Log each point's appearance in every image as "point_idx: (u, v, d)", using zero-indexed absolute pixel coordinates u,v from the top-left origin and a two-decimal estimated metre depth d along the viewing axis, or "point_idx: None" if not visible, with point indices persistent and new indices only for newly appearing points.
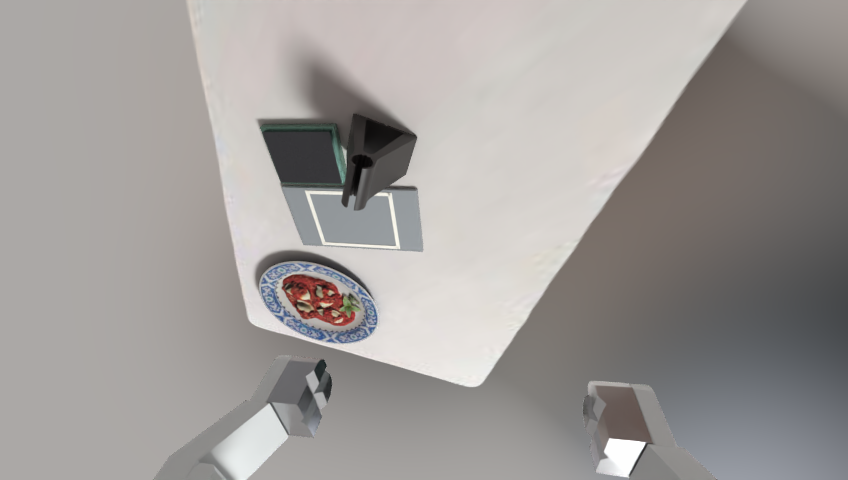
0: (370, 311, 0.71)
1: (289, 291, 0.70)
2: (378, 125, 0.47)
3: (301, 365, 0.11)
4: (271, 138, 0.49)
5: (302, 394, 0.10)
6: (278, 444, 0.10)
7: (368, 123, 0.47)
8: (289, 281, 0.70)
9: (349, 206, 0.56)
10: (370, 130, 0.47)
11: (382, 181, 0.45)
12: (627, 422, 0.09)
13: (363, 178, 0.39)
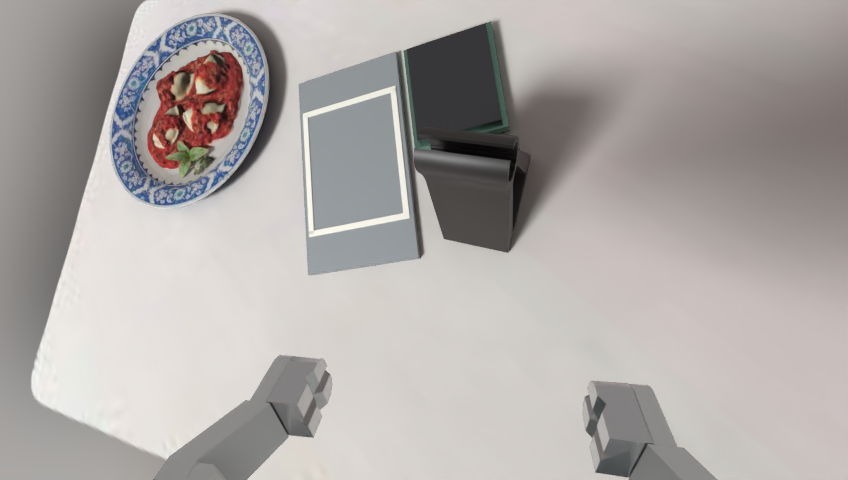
0: (181, 193, 0.41)
1: (209, 60, 0.43)
2: (518, 192, 0.31)
3: (301, 365, 0.11)
4: (477, 36, 0.33)
5: (302, 394, 0.10)
6: (278, 444, 0.10)
7: (519, 178, 0.31)
8: (228, 61, 0.43)
9: (376, 153, 0.36)
10: None
11: (451, 201, 0.26)
12: (627, 422, 0.09)
13: (487, 164, 0.20)
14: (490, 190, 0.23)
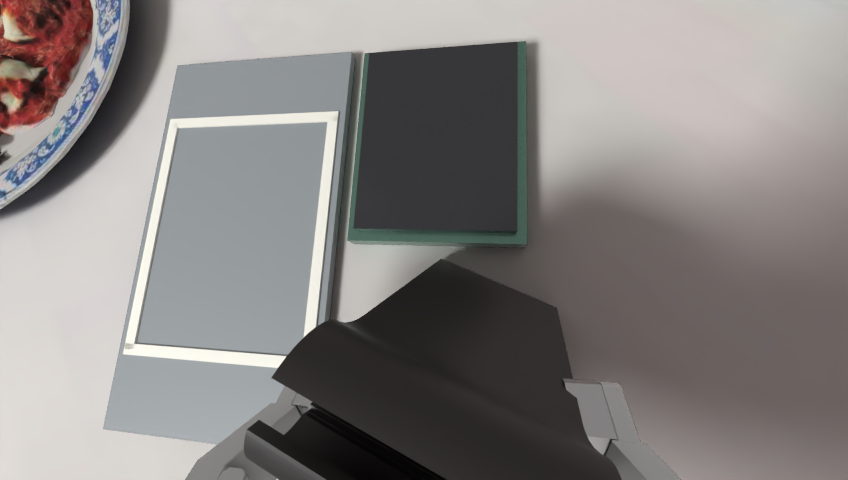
0: None
1: None
2: None
3: None
4: (499, 61, 0.18)
5: None
6: None
7: None
8: None
9: (279, 227, 0.19)
10: None
11: None
12: (594, 419, 0.09)
13: None
14: None
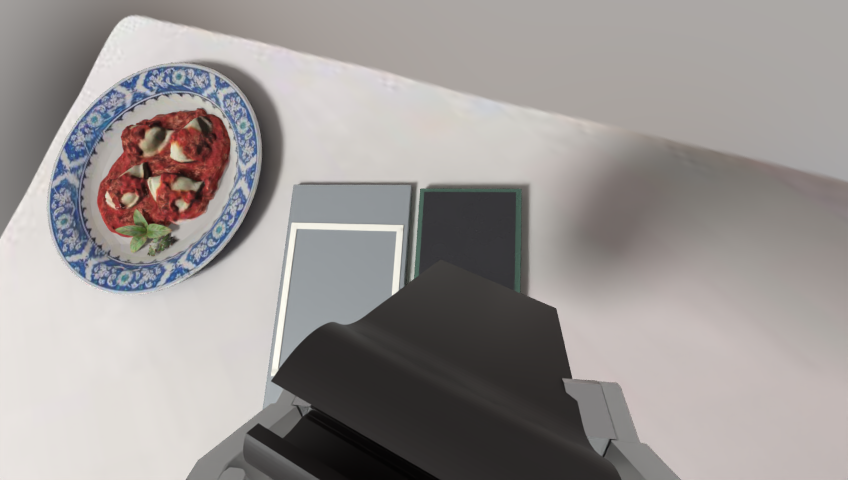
0: (127, 277, 0.35)
1: (193, 125, 0.36)
2: None
3: None
4: (504, 204, 0.30)
5: None
6: None
7: None
8: (215, 130, 0.37)
9: (367, 298, 0.31)
10: None
11: None
12: (593, 419, 0.09)
13: None
14: None
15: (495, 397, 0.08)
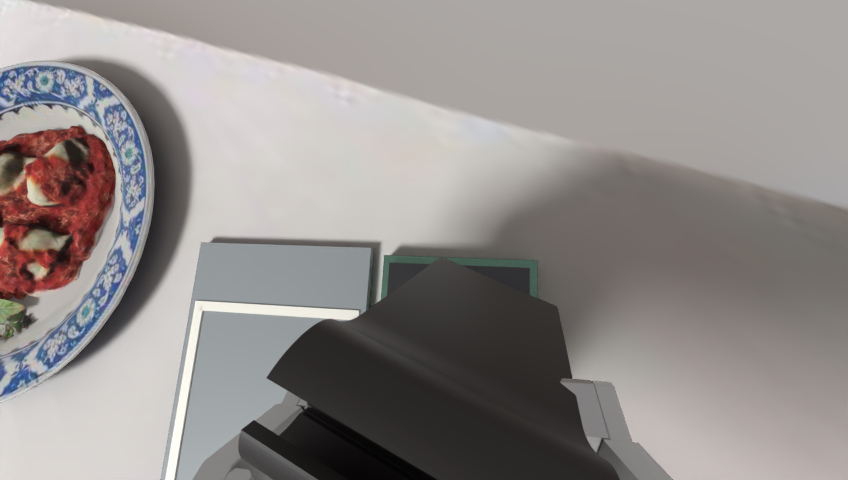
0: None
1: (57, 152, 0.25)
2: None
3: None
4: (512, 286, 0.19)
5: None
6: None
7: None
8: (93, 158, 0.26)
9: None
10: None
11: None
12: (586, 418, 0.09)
13: None
14: None
15: (493, 396, 0.08)
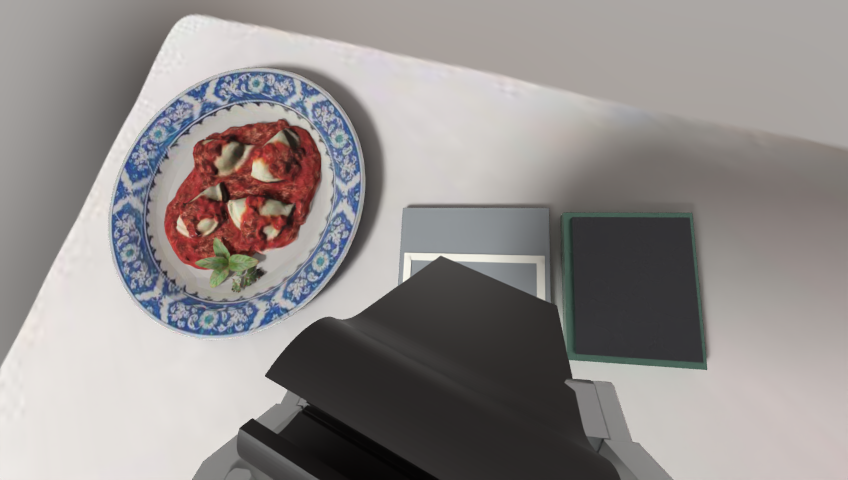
0: (211, 319, 0.30)
1: (280, 139, 0.32)
2: None
3: None
4: (677, 231, 0.25)
5: None
6: None
7: None
8: (304, 144, 0.32)
9: None
10: None
11: None
12: (586, 418, 0.09)
13: None
14: None
15: (493, 394, 0.08)
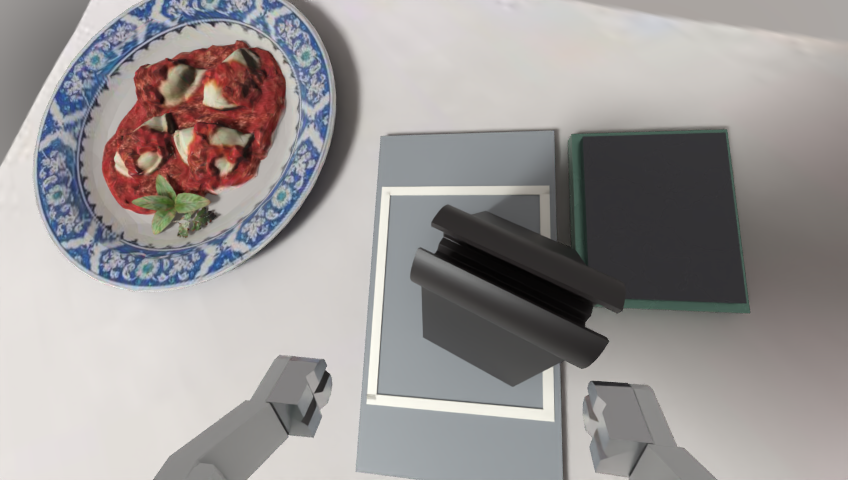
0: (151, 267, 0.25)
1: (235, 57, 0.27)
2: None
3: (301, 365, 0.11)
4: (710, 149, 0.21)
5: (302, 394, 0.10)
6: (278, 444, 0.10)
7: None
8: (265, 66, 0.27)
9: None
10: None
11: (453, 320, 0.15)
12: (627, 422, 0.09)
13: (557, 329, 0.10)
14: (532, 342, 0.13)
15: None
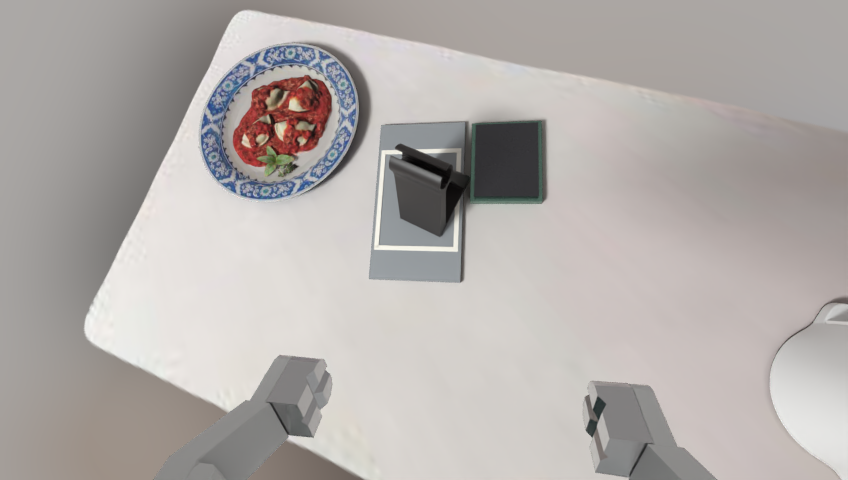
0: (267, 190, 0.50)
1: (306, 85, 0.52)
2: (456, 199, 0.46)
3: (301, 365, 0.11)
4: (530, 130, 0.45)
5: (302, 394, 0.10)
6: (278, 444, 0.10)
7: (459, 190, 0.46)
8: (321, 89, 0.52)
9: None
10: (451, 190, 0.46)
11: (407, 193, 0.40)
12: (627, 422, 0.09)
13: (429, 175, 0.35)
14: (431, 191, 0.37)
15: None
